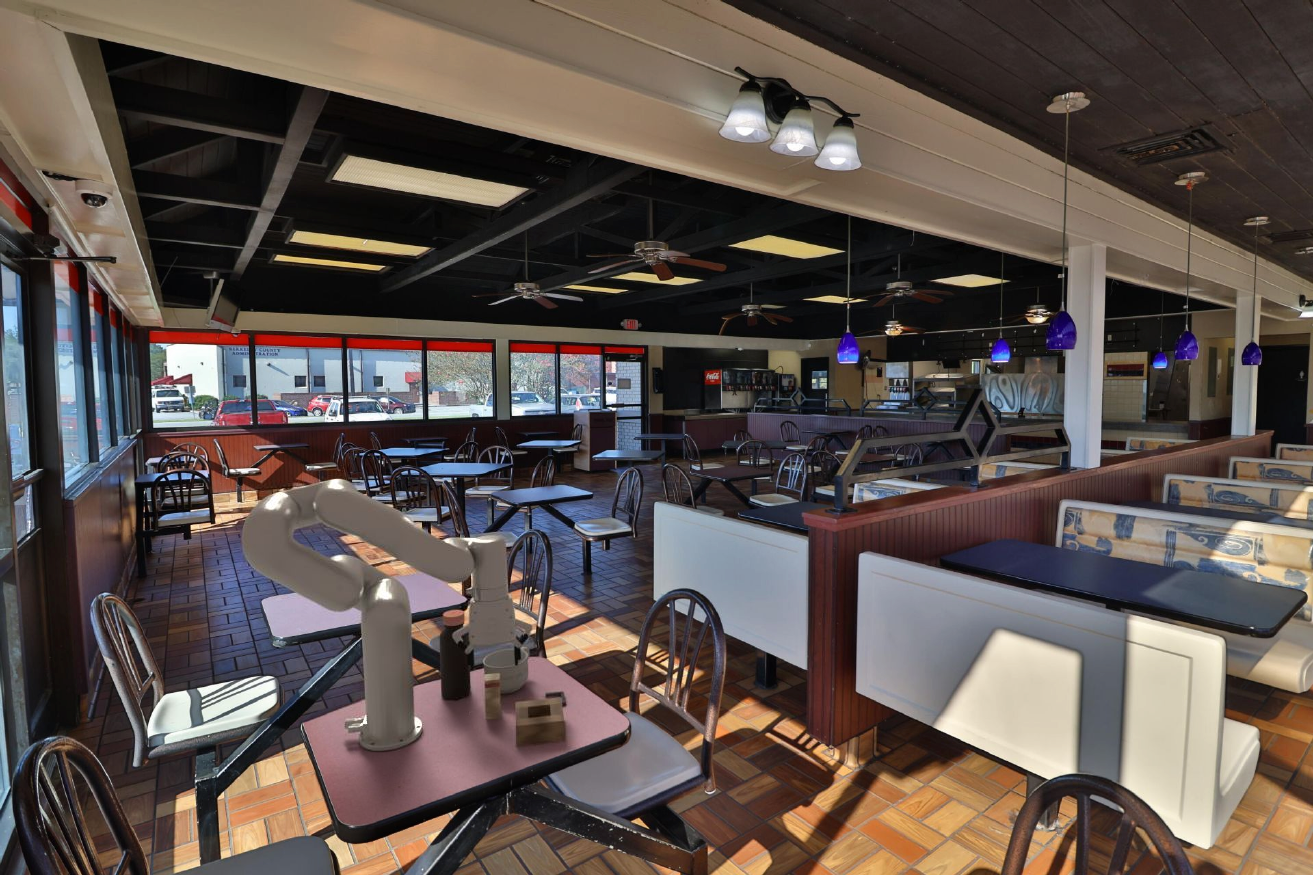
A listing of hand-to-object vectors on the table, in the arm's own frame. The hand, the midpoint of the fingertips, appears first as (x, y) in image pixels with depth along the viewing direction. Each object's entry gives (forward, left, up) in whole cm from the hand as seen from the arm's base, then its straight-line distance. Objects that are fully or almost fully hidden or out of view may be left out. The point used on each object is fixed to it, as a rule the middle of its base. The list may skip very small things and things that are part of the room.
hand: (494, 665), depth 148 cm
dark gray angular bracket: (+12, +3, -12) cm, 17 cm away
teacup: (+3, +13, -12) cm, 18 cm away
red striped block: (-1, 0, -12) cm, 12 cm away
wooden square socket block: (+9, -9, -12) cm, 17 cm away
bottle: (-10, +12, -12) cm, 19 cm away
